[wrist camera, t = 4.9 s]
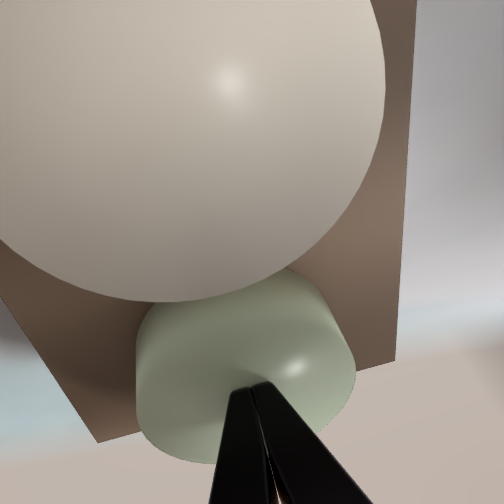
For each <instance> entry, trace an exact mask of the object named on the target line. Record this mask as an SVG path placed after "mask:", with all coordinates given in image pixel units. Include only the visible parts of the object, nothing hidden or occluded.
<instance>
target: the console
mask: <svg viewBox="0 0 504 504" xmlns="http://www.w3.org/2000/svg"><path fill="white" fill-rule="evenodd" d="M370 2H371V5H372V8H373V11H374V15H375V18H376V21H377V24H378V28H379V31H380V36H381V42H382V49H383V55H384V61H385V87H386V90H385V101H384V113H383V119H382V124H381V129H380V134H379V138H378V142H377V145H376V148H375V151H374V154H373V157H372V160H371V163H370V166H369V168H368V170H367V172H366V175H365V177H364V179H363V181H362V183H361V185H360V187H359V189H358V191H357V192H356V194H355V195H354V197H353V199H352V200H351V202H350V204H349V205H348V207H347V208H346V210H345V211H344V212H343V213H342V215H341V216H340V217H339V219H338V220H337V221H336V223H335V224H334V225H333V226H332V227H331V228H330V229H329V230H328V232H327V233H326V234H325V235H324V236H323V237H322V238H321V239H320V240H319V241H318V242H317V243H316V244H315V245H313V246H312V247H311V248H310V249H309V250H307V251H306V252H305V253H304V254H303V255H302V256H300V257H299V258H298V259H296V260H295V261H293V262H292V263H290V264H289V265H287V266H286V267H284V268H286V269H288V270H291V271H293V272H296V273H298V274H299V275H301V276H303V277H305V278H306V279H307V280H309V281H310V282H311V283H312V284H314V286H315V287H316V288H317V289H318V290H319V291H320V293H321V294H322V296H323V298H324V299H325V301H326V303H327V305H328V307H329V309H330V311H331V313H332V315H333V317H334V319H335V321H336V323H337V325H338V327H339V329H340V331H341V333H342V335H343V337H344V339H345V341H346V343H347V345H348V347H349V349H350V351H351V353H352V355H353V358H354V361H355V366H356V371H360V370H364V369H367V368H371V367H374V366H378V365H382V364H385V363H389V362H392V361H395V351H396V335H397V318H398V302H399V285H400V269H401V253H402V236H403V220H404V203H405V187H406V170H407V154H408V137H409V121H410V104H411V88H412V71H413V55H414V39H415V22H416V6H417V0H370ZM0 297H1V298H2V300H3V301H4V303H5V304H6V306H7V307H8V309H9V310H10V312H11V313H12V315H13V316H14V318H15V319H16V321H17V322H18V324H19V325H20V327H21V328H22V330H23V331H24V333H25V334H26V336H27V337H28V339H29V340H30V342H31V343H32V345H33V346H34V348H35V349H36V351H37V352H38V354H39V355H40V357H41V358H42V360H43V361H44V363H45V364H46V366H47V367H48V369H49V370H50V372H51V373H52V375H53V376H54V378H55V379H56V381H57V382H58V384H59V386H60V387H61V389H62V390H63V392H64V393H65V395H66V396H67V398H68V399H69V401H70V402H71V404H72V405H73V407H74V408H75V410H76V411H77V413H78V414H79V416H80V417H81V419H82V420H83V422H84V423H85V425H86V426H87V428H88V429H89V431H90V432H91V434H92V435H93V437H94V438H95V440H96V441H97V443H101V442H104V441H108V440H111V439H115V438H119V437H122V436H126V435H129V434H133V433H137V432H140V431H141V429H140V426H139V424H138V420H137V414H136V338H137V334H138V330H139V328H140V325H141V323H142V320H143V319H144V317H145V316H146V314H147V312H148V311H149V309H150V308H151V307H152V306H153V305H154V304H155V302H144V301H133V300H126V299H121V298H116V297H110V296H105V295H102V294H99V293H95V292H92V291H89V290H85V289H82V288H80V287H77V286H75V285H72V284H70V283H68V282H65V281H63V280H60V279H58V278H56V277H55V276H53V275H51V274H49V273H47V272H45V271H43V270H42V269H40V268H38V267H36V266H35V265H33V264H32V263H30V262H29V261H27V260H26V259H25V258H23V257H22V256H20V255H19V254H17V253H16V252H14V251H13V250H12V249H11V248H10V247H9V246H8V245H6V244H5V243H4V242H3V241H2V240H1V239H0Z"/></svg>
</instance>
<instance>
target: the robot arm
mask: <svg viewBox="0 0 504 504" xmlns="http://www.w3.org/2000/svg"><path fill="white" fill-rule="evenodd" d="M252 393H253V394H252ZM253 397H254V398H253ZM254 401H255V402H254ZM255 405H256V406H255ZM256 409H257V410H256ZM257 413H258V414H257ZM258 417H259V418H258ZM259 421H260V422H259ZM260 425H261V426H260ZM261 429H262V430H261ZM262 433H263V434H262ZM263 437H264V438H263ZM264 441H265V442H264ZM265 445H266V446H265ZM266 449H267V450H266ZM267 453H268V454H267ZM268 457H269V458H268ZM269 461H270V462H269ZM270 465H271V466H270ZM271 469H272V470H271ZM272 473H273V474H272ZM273 477H274V478H273ZM274 480H275V482H274ZM275 484H276V486H275ZM276 488H277V490H276ZM277 491H278V495H279V498H280V500H281V503H282V504H373V503H372V502H371V500H370V499H369V498H368V497H367V496H366V494H365V493H364V492H363V491H362V490H361V488H360V487H359V486H358V485H357V484H356V482H355V481H354V480H353V479H352V478H351V476H350V475H349V474H348V473H347V472H346V470H345V469H344V468H343V467H342V466H341V464H340V463H339V462H338V461H337V460H336V458H335V457H334V456H333V455H332V454H331V452H329V450H328V449H327V447H325V445H324V444H323V443H322V441H321V440H320V439H319V438H318V437H317V436H316V435H315V433H314V432H313V431H312V429H311V428H310V427H309V426H308V425H307V423H306V422H305V421H304V420H303V419H302V417H301V416H300V415H299V414H298V413H297V411H296V410H295V409H294V408H293V407H292V405H291V404H290V403H289V402H288V401H287V399H286V398H285V397H284V396H283V394H282V393H281V392H280V391H279V390H278V388H277V387H276V386H275V385H274V384H273V383H272V382H270V381H267V382H263V383H259V384H256V385H253V386H252V390H251V388H250V387H245V388H241V389H237V390H234V391H232V392H231V393H230V396H229V400H228V405H227V411H226V416H225V421H224V426H223V431H222V436H221V441H220V447H219V452H218V457H217V462H216V468H215V472H214V477H213V483H212V488H211V493H210V498H209V504H279V501H278V495H277Z"/></svg>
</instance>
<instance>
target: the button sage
mask: <svg viewBox="0 0 504 504" xmlns="http://www.w3.org/2000/svg"><path fill="white" fill-rule="evenodd" d="M355 377H356V366H355V361H354V358H353V355H352V353H351V351H350V349H349V347H348V345H347V343H346V341H345V339H344V337H343V335H342V333H341V331H340V329H339V327H338V325H337V323H336V321H335V319H334V317H333V315H332V313H331V311H330V309H329V307H328V305H327V303H326V301H325V299H324V298H323V296H322V294H321V293H320V291H319V290H318V289H317V288H316V287H315V286H314V284H312V283H311V282H310V281H309V280H307V279H306V278H305V277H303V276H301V275H299V274H298V273H296V272H293V271H291V270H288V269H286V268H283V269H281V270H280V271H278V272H276V273H274V274H272V275H270V276H269V277H267V278H265V279H263V280H261V281H259V282H256V283H254V284H251V285H249V286H247V287H244V288H242V289H239V290H236V291H232V292H229V293H226V294H223V295H219V296H214V297H209V298H205V299H200V300H191V301H182V302H155V304H154V305H153V306H152V307H151V308H150V309H149V311H148V312H147V314H146V316H145V317H144V319H143V320H142V323H141V325H140V328H139V330H138V334H137V338H136V414H137V420H138V424H139V426H140V429H141V431H142V432H143V434H144V435H145V437H146V438H147V439H148V440H149V441H150V442H151V443H152V444H153V445H154V446H155V447H157V448H158V449H159V450H161V451H163V452H165V453H167V454H169V455H171V456H174V457H176V458H179V459H182V460H186V461H191V462H196V463H204V464H216V462H217V457H218V452H219V447H220V441H221V436H222V431H223V426H224V421H225V416H226V411H227V405H228V400H229V396H230V393H231V392H232V391H234V390H237V389H241V388H245V387H250V388H251V390H252V386H253V385H256V384H259V383H263V382H267V381H270V382H272V383H273V384H274V385H275V386H276V387H277V388H278V390H279V391H280V392H281V393H282V394H283V396H284V397H285V398H286V399H287V401H288V402H289V403H290V404H291V405H292V407H293V408H294V409H295V410H296V411H297V413H298V414H299V415H300V416H301V417H302V419H303V420H304V421H305V422H306V423H307V425H308V426H309V427H310V428H311V429H312V431H313V432H314V433H315V434H316V433H317V432H318V431H320V430H321V429H322V428H324V427H325V426H326V425H327V424H328V423H330V421H331V420H333V419H334V417H335V416H336V415H337V414H338V413H339V412H340V410H341V409H342V408H343V407H344V405H345V404H346V402H347V400H348V399H349V397H350V395H351V392H352V390H353V387H354V383H355ZM252 394H253V393H252ZM253 398H254V397H253ZM254 402H255V401H254ZM255 406H256V405H255ZM256 410H257V409H256ZM257 414H258V413H257ZM258 418H259V417H258ZM259 422H260V421H259ZM260 426H261V425H260ZM261 430H262V429H261ZM262 434H263V433H262ZM263 438H264V437H263ZM264 442H265V441H264ZM265 446H266V445H265ZM266 450H267V449H266ZM267 454H268V453H267Z"/></svg>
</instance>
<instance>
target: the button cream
mask: <svg viewBox="0 0 504 504" xmlns="http://www.w3.org/2000/svg"><path fill="white" fill-rule="evenodd" d="M385 90H386V87H385V61H384V55H383V49H382V42H381V36H380V31H379V28H378V24H377V21H376V18H375V15H374V11H373V8H372V5H371V2H370V0H0V239H1V240H2V241H3V242H4V243H5V244H6V245H8V246H9V247H10V248H11V249H12V250H13V251H14V252H16V253H17V254H19V255H20V256H22V257H23V258H25V259H26V260H27V261H29V262H30V263H32V264H33V265H35V266H36V267H38V268H40V269H42V270H43V271H45V272H47V273H49V274H51V275H53V276H55V277H56V278H58V279H60V280H63V281H65V282H68V283H70V284H72V285H75V286H77V287H80V288H82V289H85V290H89V291H92V292H95V293H99V294H102V295H105V296H110V297H116V298H121V299H126V300H133V301H144V302H182V301H191V300H200V299H205V298H209V297H214V296H219V295H223V294H226V293H229V292H232V291H236V290H239V289H242V288H244V287H247V286H249V285H251V284H254V283H256V282H259V281H261V280H263V279H265V278H267V277H269V276H270V275H272V274H274V273H276V272H278V271H280V270H281V269H283V268H284V267H286V266H287V265H289V264H290V263H292V262H293V261H295V260H296V259H298V258H299V257H300V256H302V255H303V254H304V253H305V252H306V251H307V250H309V249H310V248H311V247H312V246H313V245H315V244H316V243H317V242H318V241H319V240H320V239H321V238H322V237H323V236H324V235H325V234H326V233H327V232H328V230H329V229H330V228H331V227H332V226H333V225H334V224H335V223H336V221H337V220H338V219H339V217H340V216H341V215H342V213H343V212H344V211H345V210H346V208H347V207H348V205H349V204H350V202H351V200H352V199H353V197H354V195H355V194H356V192H357V191H358V189H359V187H360V185H361V183H362V181H363V179H364V177H365V175H366V172H367V170H368V168H369V166H370V163H371V160H372V157H373V154H374V151H375V148H376V145H377V142H378V138H379V134H380V129H381V124H382V119H383V113H384V101H385Z"/></svg>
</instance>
